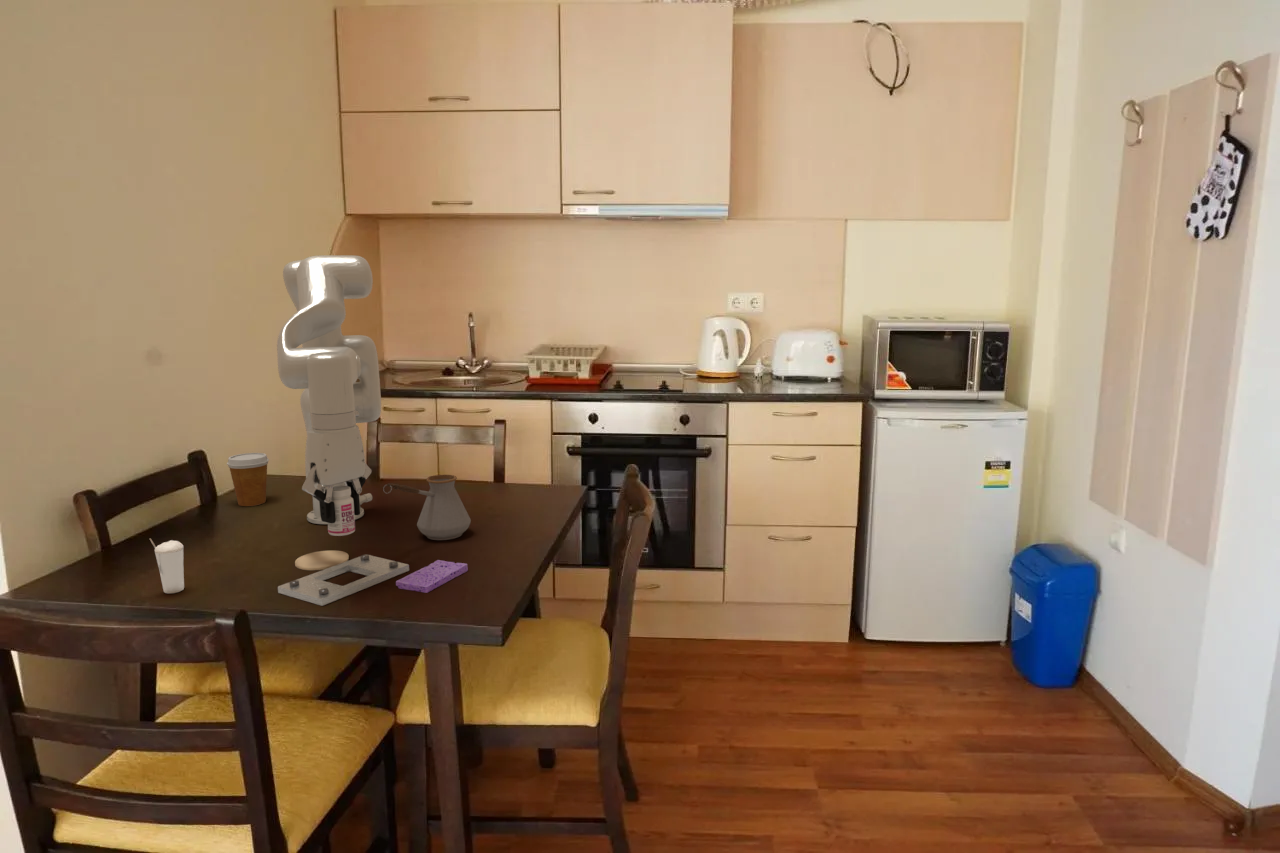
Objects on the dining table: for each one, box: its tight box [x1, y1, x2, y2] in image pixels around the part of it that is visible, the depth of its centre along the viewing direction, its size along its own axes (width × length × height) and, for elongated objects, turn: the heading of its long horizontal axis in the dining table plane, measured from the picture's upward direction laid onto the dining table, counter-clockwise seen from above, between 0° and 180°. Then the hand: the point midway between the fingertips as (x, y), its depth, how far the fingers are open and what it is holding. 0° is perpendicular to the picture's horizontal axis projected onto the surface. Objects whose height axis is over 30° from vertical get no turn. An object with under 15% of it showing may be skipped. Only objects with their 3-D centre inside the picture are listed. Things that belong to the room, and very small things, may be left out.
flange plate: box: [277, 554, 410, 607], centre depth 155 cm, size 20×12×2 cm, turn 149°
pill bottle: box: [327, 486, 356, 537], centre depth 153 cm, size 5×5×8 cm
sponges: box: [395, 559, 469, 594], centre depth 156 cm, size 7×13×2 cm, turn 156°
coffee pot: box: [382, 474, 472, 541], centre depth 177 cm, size 21×12×15 cm, turn 149°
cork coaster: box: [294, 549, 350, 571], centre depth 166 cm, size 10×10×1 cm
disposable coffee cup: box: [226, 452, 270, 507], centre depth 208 cm, size 10×10×12 cm
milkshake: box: [149, 538, 185, 595], centre depth 151 cm, size 4×5×10 cm
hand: (340, 516), depth 154 cm, fingers closed on pill bottle, 4 cm apart
